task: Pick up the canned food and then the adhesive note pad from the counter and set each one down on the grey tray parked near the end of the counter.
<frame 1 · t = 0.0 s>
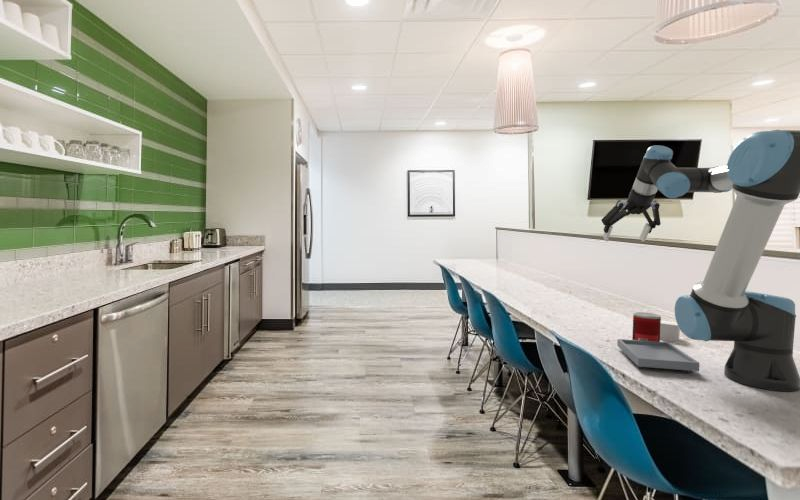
hand: (623, 239, 155), 36 cm above the table, tool tilted 35°, fingers open, 13 cm apart
grey tray: (654, 361, 124), on the table
adhesive note: (668, 339, 151), on the table
canned food: (645, 347, 140), on the table
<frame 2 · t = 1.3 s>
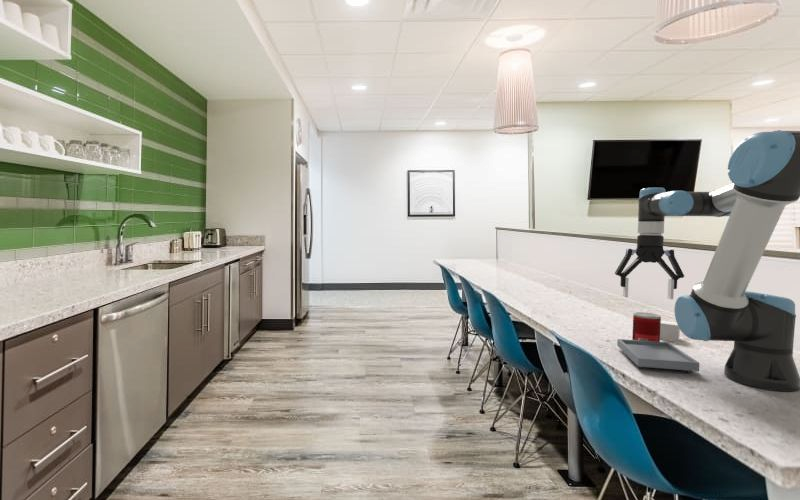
hand: (647, 297, 139), 17 cm above the table, tool pointing down, fingers open, 13 cm apart
nothing on the table moved.
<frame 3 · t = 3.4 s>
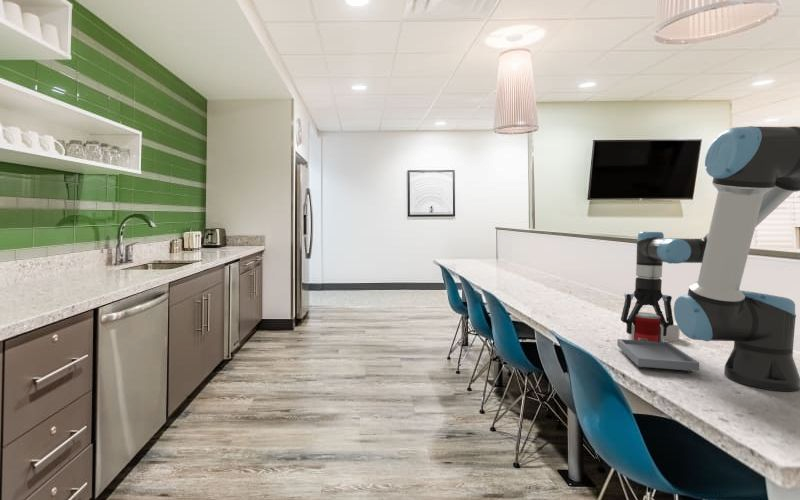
hand: (645, 344, 140), 1 cm above the table, tool pointing down, fingers closed on canned food, 8 cm apart
canned food: (645, 347, 140), on the table, touching gripper
everything else where it was.
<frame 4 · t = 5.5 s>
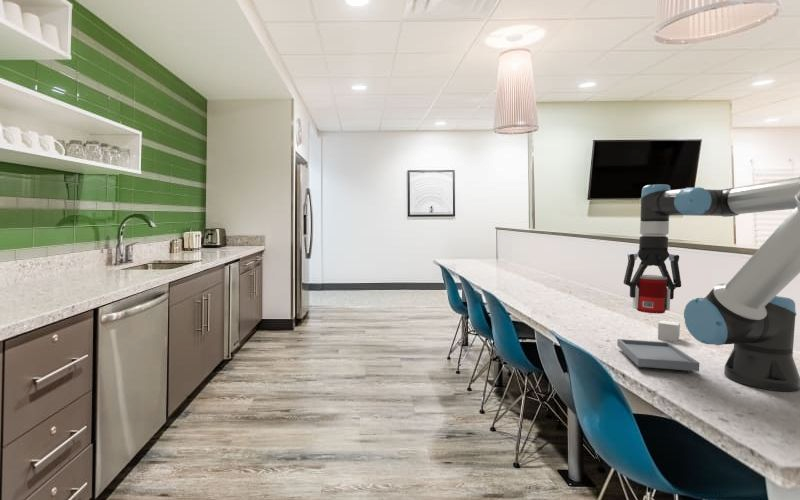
hand: (650, 308, 128), 15 cm above the table, tool pointing down, fingers closed on canned food, 8 cm apart
canned food: (650, 311, 128), point 14 cm above the table, touching gripper
everything else where it was.
when the fingers open (5 cm above the table, at t = 7.7 s): canned food drops 2 cm, resting on grey tray.
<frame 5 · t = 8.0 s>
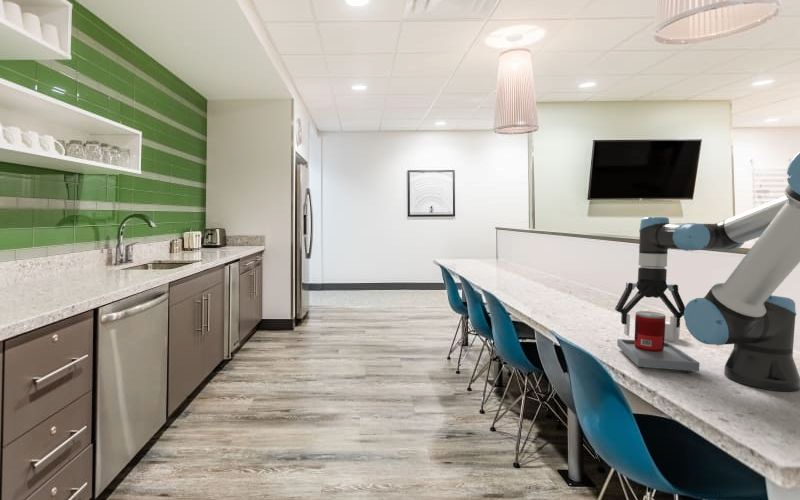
hand: (649, 336, 129), 6 cm above the table, tool pointing down, fingers open, 12 cm apart
canned food: (648, 349, 129), point 2 cm above the table, touching grey tray
everything else where it was.
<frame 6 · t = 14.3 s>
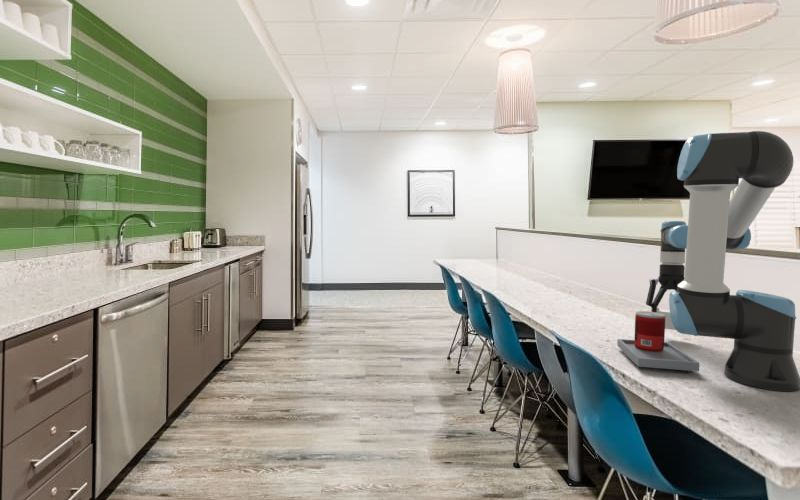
hand: (669, 326, 150), 5 cm above the table, tool pointing down, fingers closed on adhesive note, 8 cm apart
adhesive note: (669, 328, 150), point 4 cm above the table, touching gripper
everything else where it was.
when the fingers open (4 cm above the table, at t = 20.6 s): adhesive note drops 1 cm, resting on grey tray.
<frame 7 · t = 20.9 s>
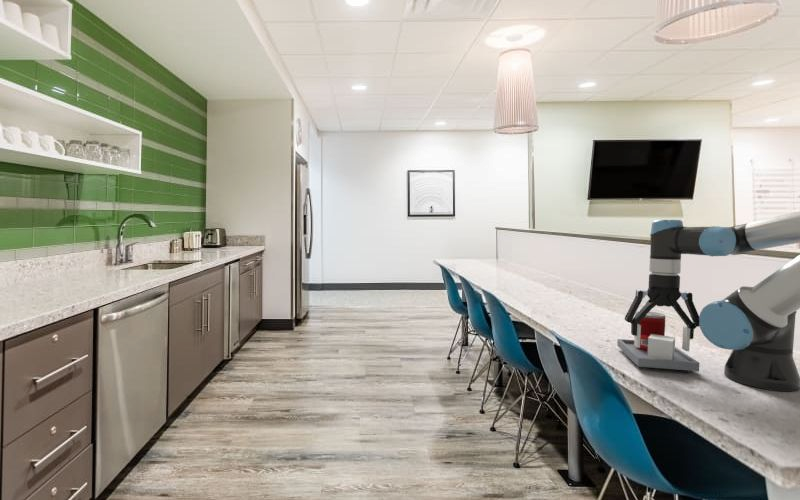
hand: (660, 348, 119), 5 cm above the table, tool pointing down, fingers open, 12 cm apart
adhesive note: (660, 358, 119), point 2 cm above the table, touching grey tray
everything else where it was.
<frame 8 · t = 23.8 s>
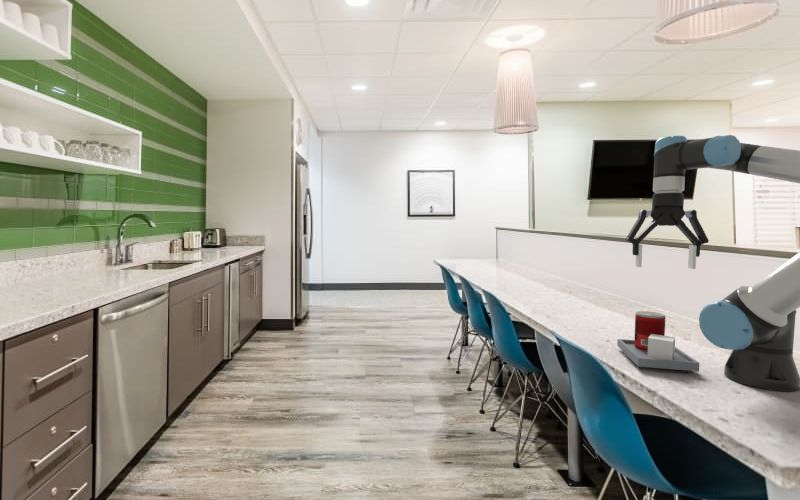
hand: (664, 267, 118), 29 cm above the table, tool pointing down, fingers open, 13 cm apart
nothing on the table moved.
at the end: canned food inside the target area (0.0 cm from its centre), point 2.3 cm above the table; adhesive note inside the target area (0.1 cm from its centre), point 2.3 cm above the table; canned food tilted 0° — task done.
